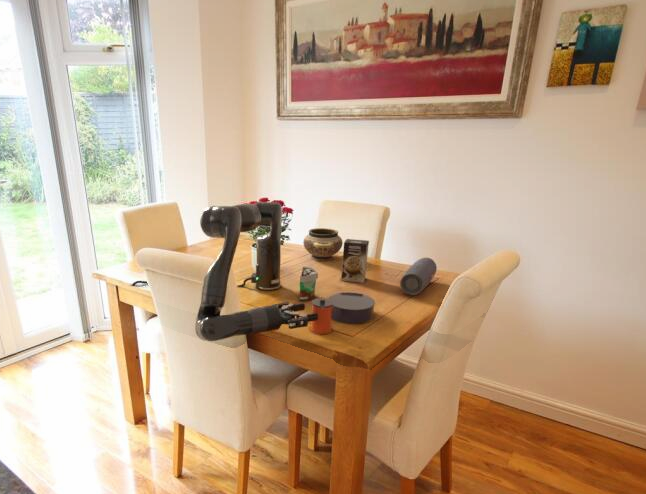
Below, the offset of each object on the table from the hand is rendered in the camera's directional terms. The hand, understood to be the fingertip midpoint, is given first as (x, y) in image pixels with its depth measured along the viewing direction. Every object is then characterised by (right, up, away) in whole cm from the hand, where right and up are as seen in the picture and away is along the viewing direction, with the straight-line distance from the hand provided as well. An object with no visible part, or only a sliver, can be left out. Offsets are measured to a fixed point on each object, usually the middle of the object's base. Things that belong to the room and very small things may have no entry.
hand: (310, 311), depth 142 cm
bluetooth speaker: (+47, +8, +35) cm, 59 cm away
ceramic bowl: (+17, +25, +76) cm, 81 cm away
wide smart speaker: (+16, -1, +15) cm, 21 cm away
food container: (+4, +5, +30) cm, 31 cm away
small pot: (+4, -6, +4) cm, 8 cm away
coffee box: (+25, +13, +47) cm, 54 cm away
